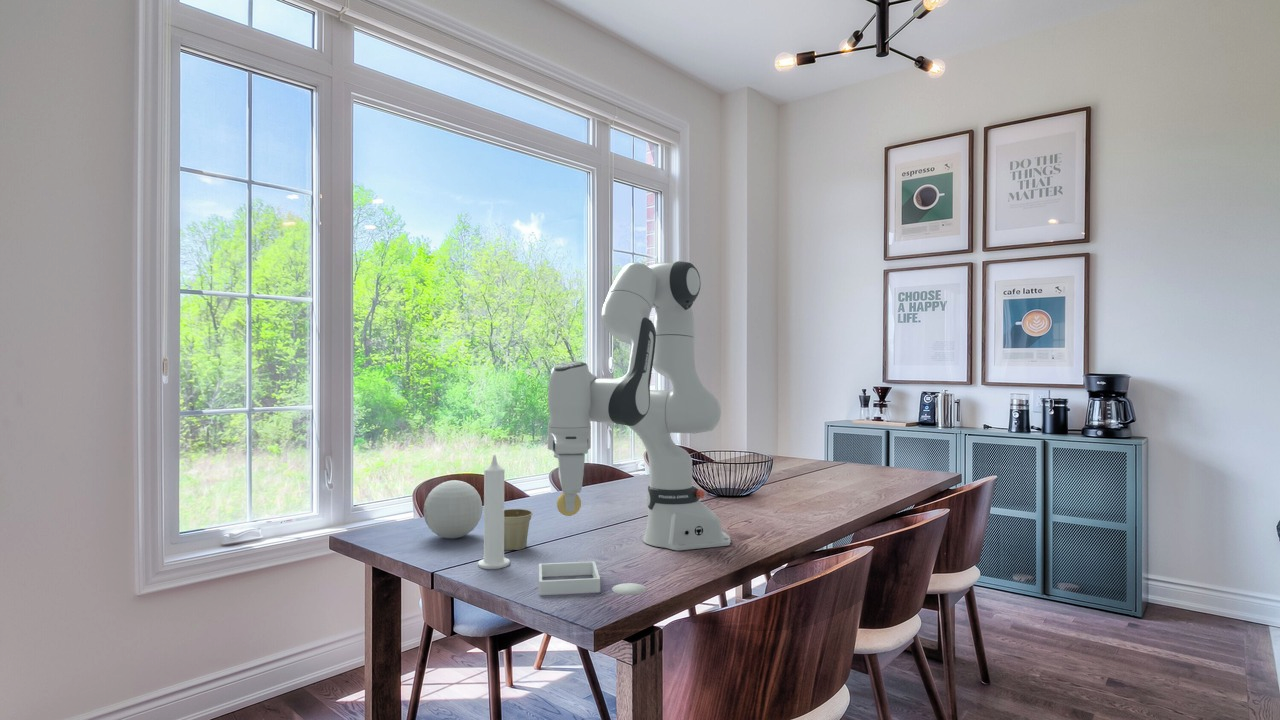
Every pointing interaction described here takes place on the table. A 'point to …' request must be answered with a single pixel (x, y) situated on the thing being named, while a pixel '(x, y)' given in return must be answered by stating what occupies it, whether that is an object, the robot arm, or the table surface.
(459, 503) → the decorative object
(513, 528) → the flower pot
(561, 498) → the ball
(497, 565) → the candle
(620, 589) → the coaster
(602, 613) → the table surface
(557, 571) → the shallow white box
